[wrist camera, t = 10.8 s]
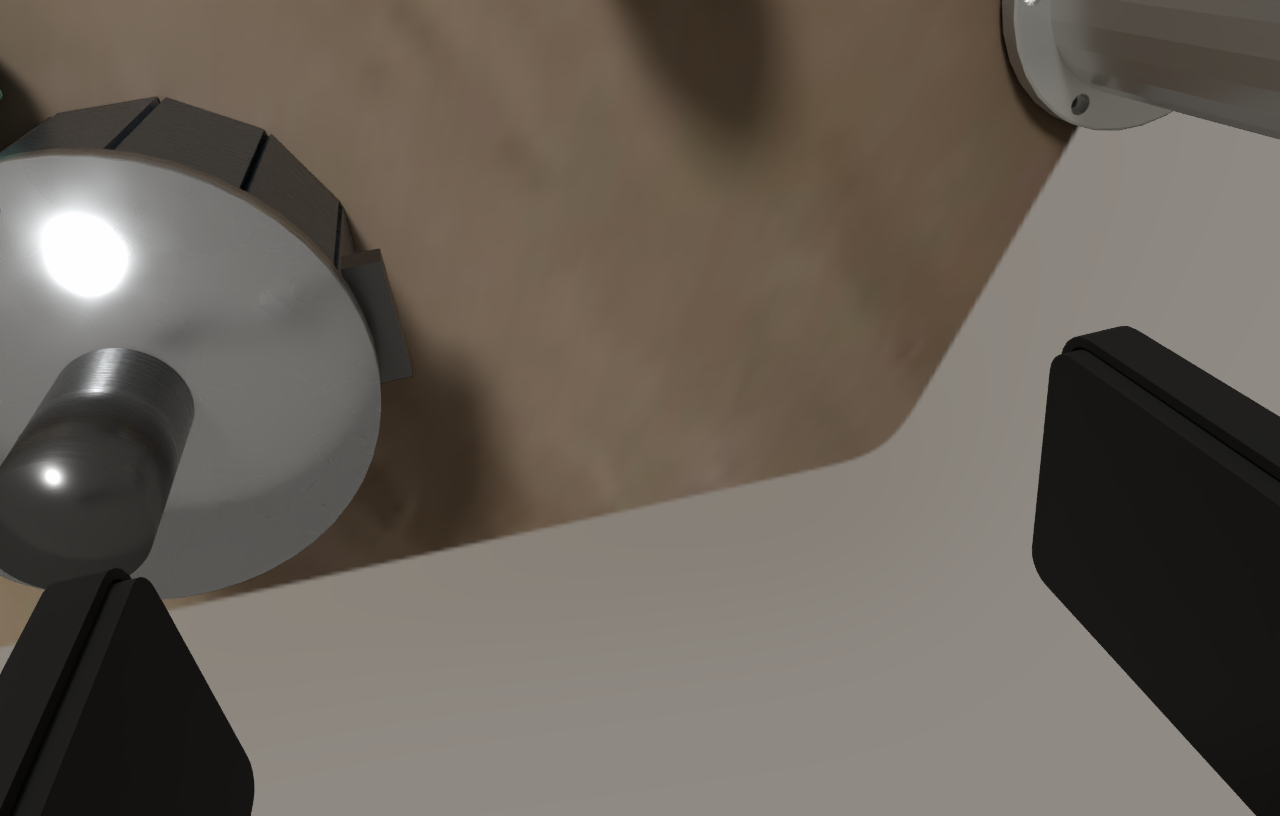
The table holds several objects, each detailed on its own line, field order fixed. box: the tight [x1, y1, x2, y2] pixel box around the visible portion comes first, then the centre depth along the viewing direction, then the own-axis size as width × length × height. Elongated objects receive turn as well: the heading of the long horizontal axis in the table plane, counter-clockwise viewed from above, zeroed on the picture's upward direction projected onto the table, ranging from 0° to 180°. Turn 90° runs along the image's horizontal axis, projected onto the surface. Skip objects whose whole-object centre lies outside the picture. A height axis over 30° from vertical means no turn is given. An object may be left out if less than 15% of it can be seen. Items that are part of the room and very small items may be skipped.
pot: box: [0, 97, 413, 383], centre depth 31 cm, size 16×13×9 cm
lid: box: [0, 148, 381, 600], centre depth 24 cm, size 14×14×7 cm
